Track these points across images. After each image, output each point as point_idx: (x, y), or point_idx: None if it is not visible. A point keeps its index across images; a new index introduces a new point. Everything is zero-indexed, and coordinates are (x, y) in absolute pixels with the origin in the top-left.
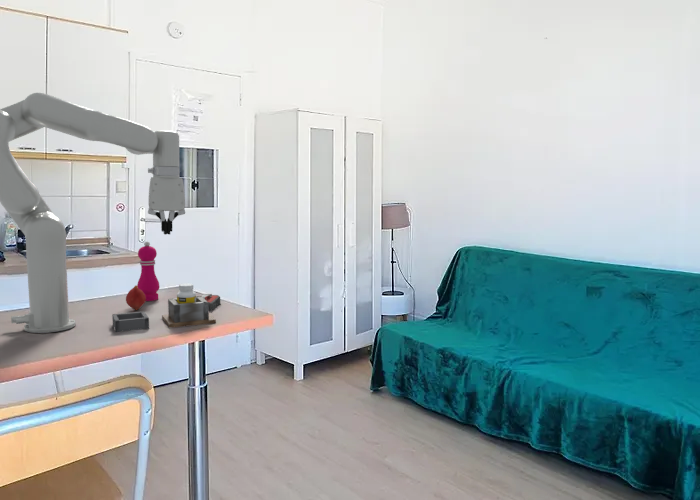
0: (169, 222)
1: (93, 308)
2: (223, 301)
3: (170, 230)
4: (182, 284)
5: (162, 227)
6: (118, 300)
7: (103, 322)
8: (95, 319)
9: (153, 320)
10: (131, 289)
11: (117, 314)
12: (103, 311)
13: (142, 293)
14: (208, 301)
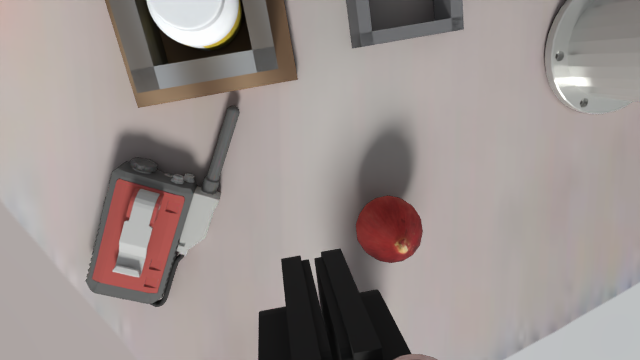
0: (302, 350)
1: (489, 260)
2: (84, 293)
3: (281, 308)
4: (205, 2)
5: (384, 309)
6: (423, 347)
7: (470, 72)
8: (489, 119)
9: (323, 56)
10: (414, 241)
11: (448, 21)
12: (465, 217)
13: (373, 227)
14: (124, 185)
